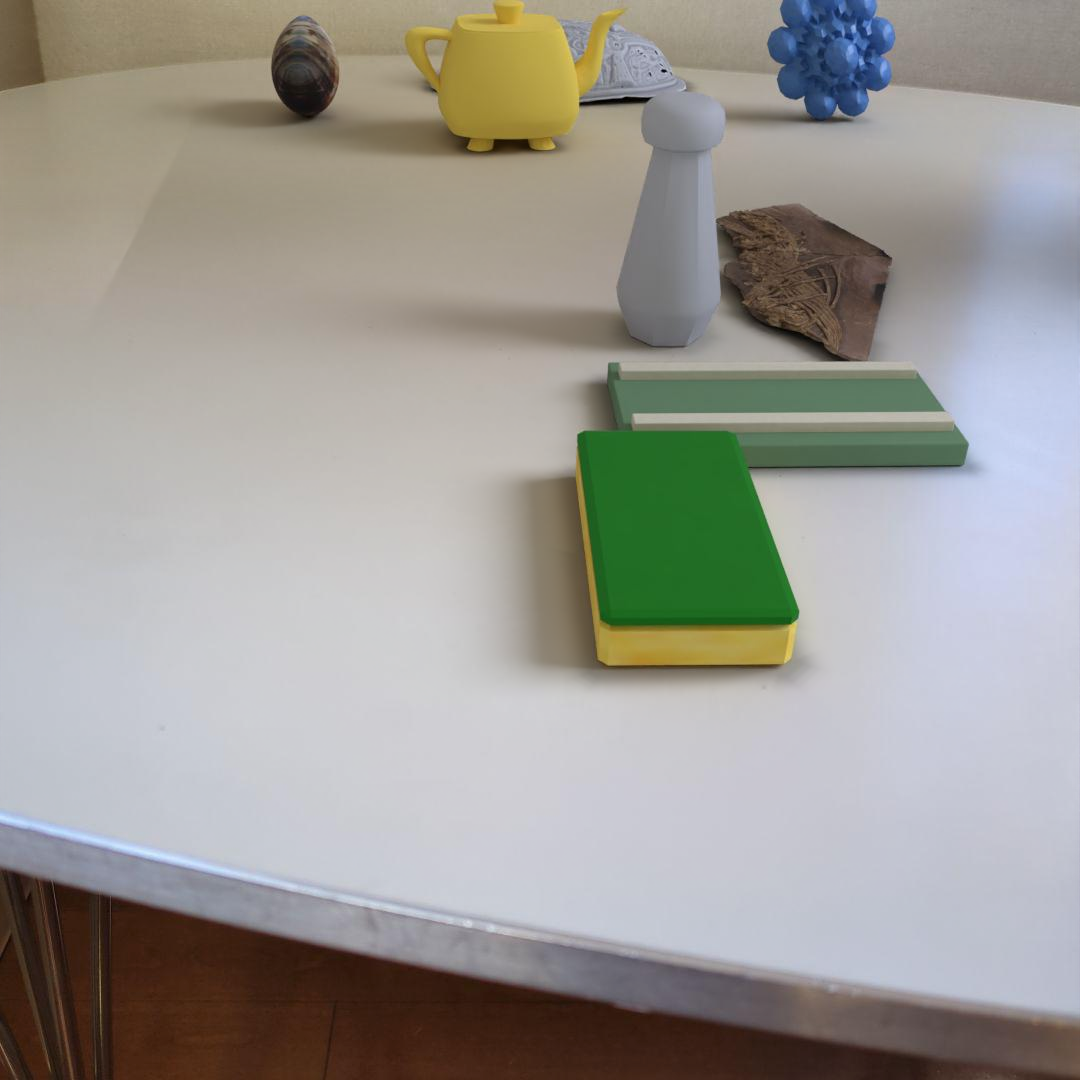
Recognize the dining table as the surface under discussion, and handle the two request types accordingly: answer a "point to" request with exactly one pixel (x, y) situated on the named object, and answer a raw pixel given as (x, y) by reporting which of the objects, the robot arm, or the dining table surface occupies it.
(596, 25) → the teapot
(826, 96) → the blue knobbly round piece
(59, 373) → the dining table surface
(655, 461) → the dish sponge
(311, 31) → the seashell
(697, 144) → the salt shaker
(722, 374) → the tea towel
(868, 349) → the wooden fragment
